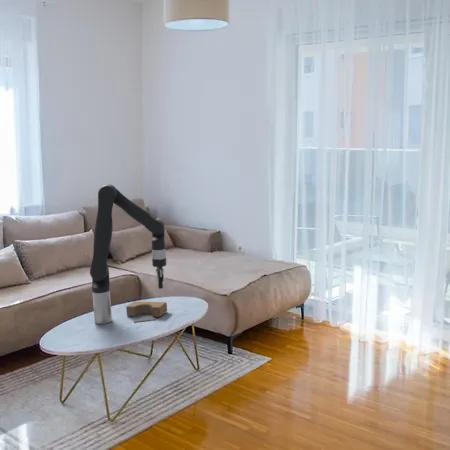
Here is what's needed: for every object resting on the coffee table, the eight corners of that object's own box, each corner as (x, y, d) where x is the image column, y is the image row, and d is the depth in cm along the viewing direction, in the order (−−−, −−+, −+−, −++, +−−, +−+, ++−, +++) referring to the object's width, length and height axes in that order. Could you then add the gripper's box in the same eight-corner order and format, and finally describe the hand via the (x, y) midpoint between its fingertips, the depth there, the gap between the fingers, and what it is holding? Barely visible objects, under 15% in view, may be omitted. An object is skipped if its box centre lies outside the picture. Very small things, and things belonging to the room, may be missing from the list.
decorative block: (159, 307, 324) (125, 306, 329) (160, 317, 325) (126, 316, 330) (166, 301, 334) (133, 300, 340) (167, 311, 335) (134, 310, 341)
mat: (134, 322, 320) (134, 321, 320) (132, 316, 331) (132, 315, 331) (156, 320, 323) (156, 319, 323) (154, 313, 333) (153, 313, 333)
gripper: (150, 255, 325) (152, 285, 328) (153, 260, 312) (155, 292, 315) (164, 254, 327) (165, 284, 330) (167, 259, 314) (169, 290, 317)
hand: (160, 288), depth 322 cm, fingers closed
